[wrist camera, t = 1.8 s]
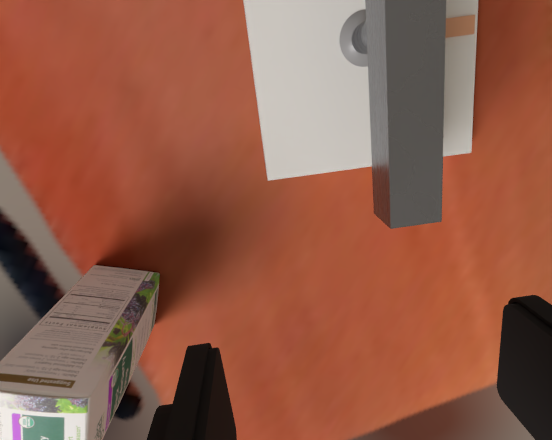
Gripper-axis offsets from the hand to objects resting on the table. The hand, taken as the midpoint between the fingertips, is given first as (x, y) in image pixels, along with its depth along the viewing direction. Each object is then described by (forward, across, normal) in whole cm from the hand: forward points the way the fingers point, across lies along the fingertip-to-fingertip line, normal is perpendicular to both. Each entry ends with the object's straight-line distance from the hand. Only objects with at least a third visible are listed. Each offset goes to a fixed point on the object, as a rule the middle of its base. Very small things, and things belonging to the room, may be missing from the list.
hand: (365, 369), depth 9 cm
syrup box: (+22, +16, +8) cm, 28 cm away
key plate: (+22, -6, -10) cm, 25 cm away
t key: (+20, -6, -10) cm, 23 cm away
